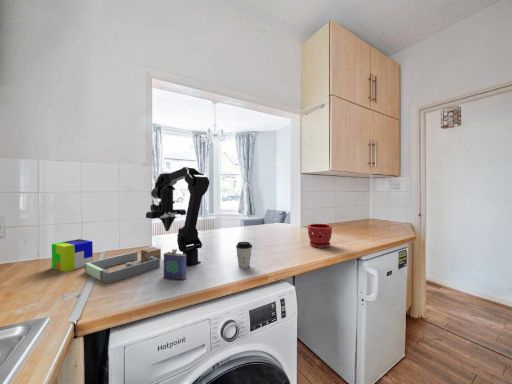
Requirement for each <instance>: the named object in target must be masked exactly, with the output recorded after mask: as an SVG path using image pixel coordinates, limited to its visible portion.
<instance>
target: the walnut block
mask: <svg viewBox="0 0 512 384" xmlns="http://www.w3.org/2000/svg"><path fill="white" fill-rule="evenodd" d="M161 252H162V249H161V248H158V247H154V246H153V247H148V248H147V247H146V248H143V249H140V261H141V262H147V261H149V257H151V256H153V257H155V258H159V259H160V260H161V257H162V253H161Z"/></svg>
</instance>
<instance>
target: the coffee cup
mask: <svg viewBox="0 0 512 384" xmlns="http://www.w3.org/2000/svg"><path fill="white" fill-rule="evenodd" d="M235 248H236V255H237V257H236V258H237V262H238V263H237V264H238V268H239V267H240V268H239V269H244V268H245V269H248V267H249V268H250V265H251V258H252V257H251V256H252V248H253V244H251V243H250V242H248V241H239V242H237V244H236V246H235Z"/></svg>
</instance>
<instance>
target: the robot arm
mask: <svg viewBox="0 0 512 384" xmlns="http://www.w3.org/2000/svg"><path fill="white" fill-rule="evenodd" d="M181 180H184V181H185V183H186V184H187V190H188V192H189V199H188V200H189V201H188V205H187V210H186V209H184V208H183V209H182V208H175V209H174V204H175V203H176V202H175V201H174V191H176V188H175V187H174V185H176V184H177V183H178V182H179V181H181ZM209 187H210V179H209V177H208V176H207V175H205V174H204V173H202V172H200V171H199V170H197V168H195V167H193V166H183V167H182V168H180V169H177V170H175V171H172V172H170V173H169V172H168V173H167V172H165V173H163V172H162V173H160V174H159V175H158V177H157V179H156V182H155V183H154V188H152V189H151V193H150V195H151V197H152V198H153V199H155V200H156V199H157V200H160V201H158V204H155V203H154V204H150V211H147V212H146V213H145V218H146V219H151V220H152V219H159V220H160V221H161V223H162V225H163V227H164V230H165V232H169V231H170V228H171V226H172V225H173V222H174V221H175V219H176V218H178V217H177V216H176V215H180V216H185V220H184V225H183V226H181V227H179V228H178V232H177V235H176V236H177V239H176V241H177V246H178V247H177V248H178V251H180V253H182V254H186V267H193V266H195V265H197V264H200V263H201V260H199V249H202V247H203V243H202V241H201V240H200V237H199V231H198V229H197V225H198V224H197V223H198V220H199V214H200V209H201V204H202V199H203V196H205V194H206V193H207V192H208V190H209Z"/></svg>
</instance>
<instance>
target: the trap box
mask: <svg viewBox="0 0 512 384" xmlns="http://www.w3.org/2000/svg"><path fill="white" fill-rule="evenodd" d="M136 260H138V251H132V252H128V253H123V254H119V255H115V256H111V257H106V258H102V259H101V258H100V259H98V260H93V262H88V263H85V266H84V273H86V274H88V275H89V276H92V277H94V278H95V279H96V280H99V281H102V282H104V283H106V284H112V283H115V282H118V281H120V280H121V281H122V280H125V279H126V278H130V277H133V276H135V275H140V274H142V273H146V272H149V271H152V270H155V269H158V268H160V267H161V266H160V265H161V264H160V263H161V261H160V260H161V259H159V258H155V257H153V256H151V257H149V261H147V262H144V261H142V262H140V263H134V262H133V261H136ZM120 264H125V267H122V268H119V269H115V270H111V271H109V270H107V269H106V268H110V267H114V266H116V265H120Z"/></svg>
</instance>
